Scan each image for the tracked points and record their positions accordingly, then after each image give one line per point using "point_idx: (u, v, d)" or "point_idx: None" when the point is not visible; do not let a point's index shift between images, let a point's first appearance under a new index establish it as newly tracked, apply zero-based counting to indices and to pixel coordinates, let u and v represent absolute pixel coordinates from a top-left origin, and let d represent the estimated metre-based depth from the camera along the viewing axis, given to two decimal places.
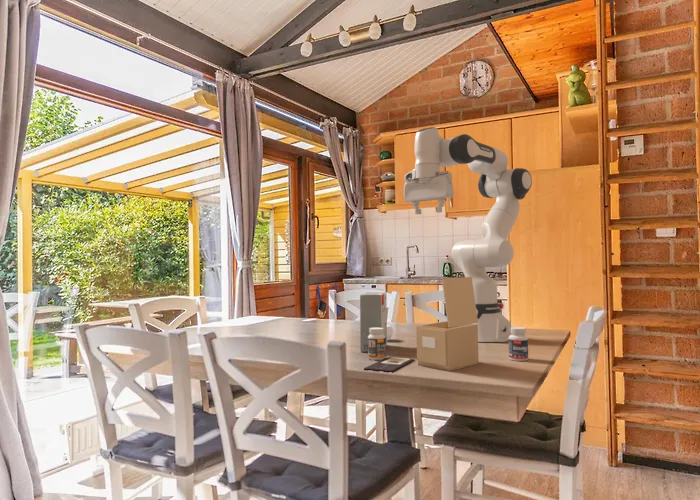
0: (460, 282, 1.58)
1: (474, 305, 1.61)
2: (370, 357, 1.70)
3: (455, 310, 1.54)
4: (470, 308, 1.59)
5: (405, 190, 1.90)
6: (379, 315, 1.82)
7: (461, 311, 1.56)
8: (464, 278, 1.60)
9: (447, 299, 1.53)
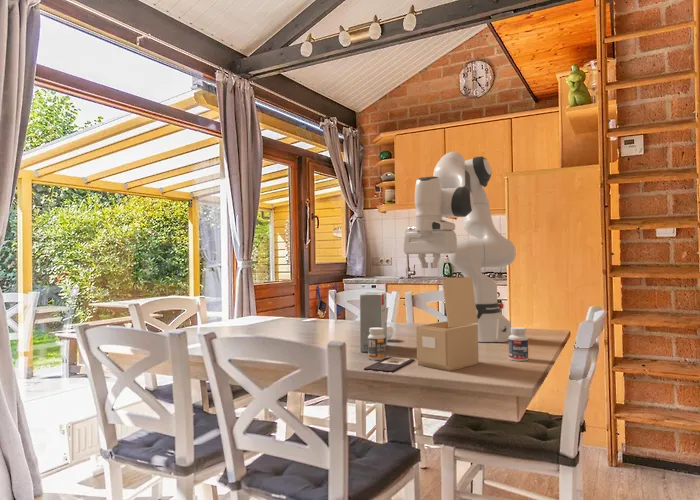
0: (460, 282, 1.58)
1: (474, 305, 1.61)
2: (370, 357, 1.70)
3: (455, 310, 1.54)
4: (470, 308, 1.59)
5: None
6: (379, 315, 1.82)
7: (461, 311, 1.56)
8: (464, 278, 1.60)
9: (447, 299, 1.53)
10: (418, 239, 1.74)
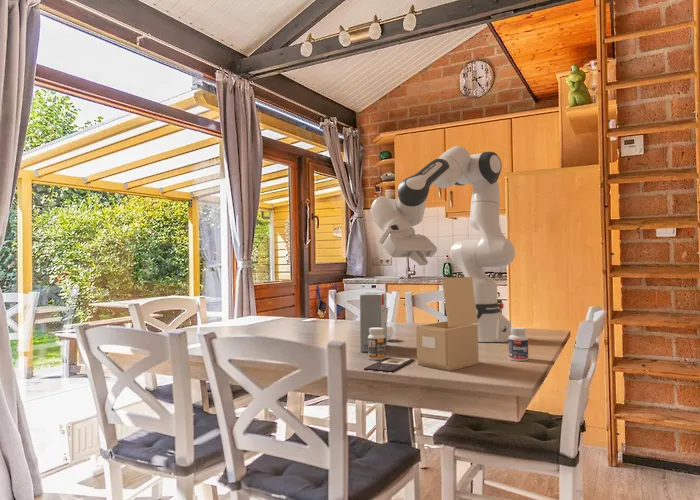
0: (460, 282, 1.58)
1: (474, 305, 1.61)
2: (370, 357, 1.70)
3: (455, 310, 1.54)
4: (470, 308, 1.59)
5: (394, 239, 1.66)
6: (379, 315, 1.82)
7: (461, 311, 1.56)
8: (464, 278, 1.60)
9: (447, 299, 1.53)
10: None
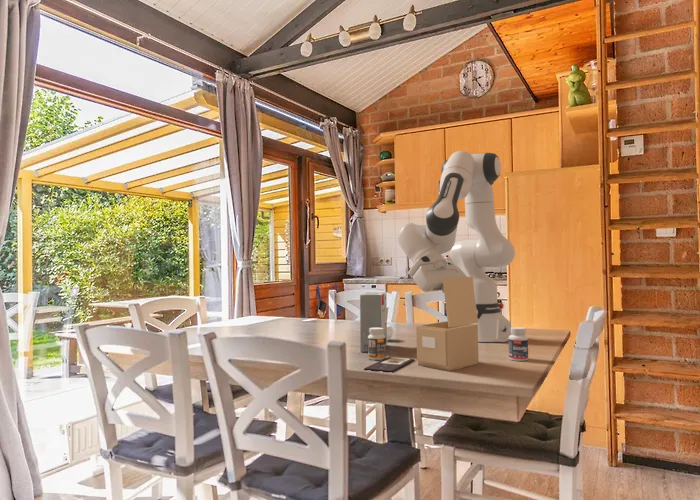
0: (461, 282, 1.58)
1: (474, 305, 1.60)
2: (370, 357, 1.70)
3: (455, 310, 1.54)
4: (470, 308, 1.59)
5: (425, 273, 1.55)
6: (379, 315, 1.82)
7: (461, 311, 1.56)
8: (465, 278, 1.59)
9: (447, 299, 1.53)
10: None
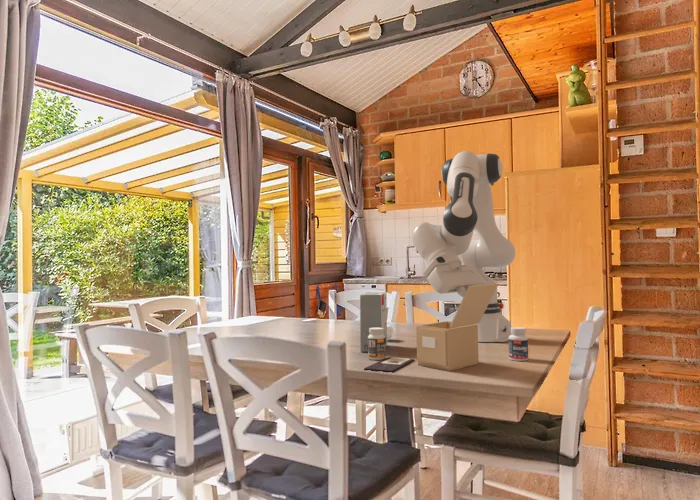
0: (484, 289, 1.52)
1: (484, 309, 1.58)
2: (370, 357, 1.70)
3: (464, 314, 1.52)
4: (479, 312, 1.57)
5: (440, 274, 1.50)
6: (379, 315, 1.82)
7: (469, 314, 1.54)
8: (490, 286, 1.53)
9: (462, 304, 1.49)
10: None
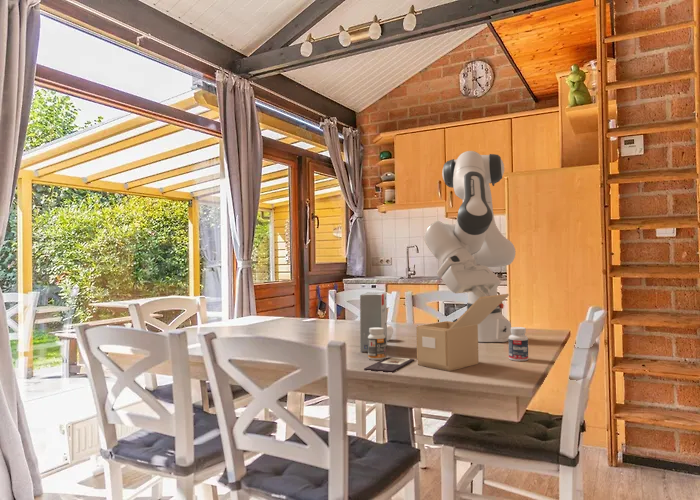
0: (494, 299, 1.49)
1: (488, 313, 1.57)
2: (370, 357, 1.70)
3: (467, 318, 1.51)
4: (482, 316, 1.56)
5: (455, 273, 1.47)
6: (379, 315, 1.82)
7: (472, 318, 1.53)
8: (500, 296, 1.50)
9: (468, 311, 1.47)
10: None
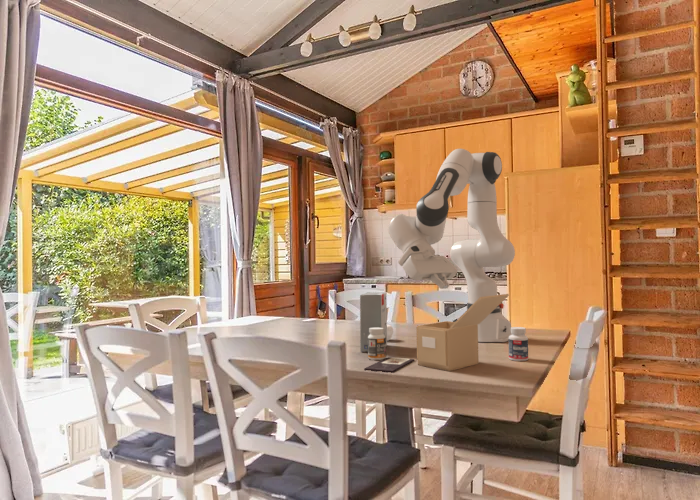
0: (494, 299, 1.49)
1: (488, 313, 1.57)
2: (370, 357, 1.70)
3: (467, 318, 1.51)
4: (482, 316, 1.56)
5: (415, 262, 1.59)
6: (379, 315, 1.82)
7: (472, 318, 1.53)
8: (501, 296, 1.50)
9: (468, 311, 1.47)
10: None
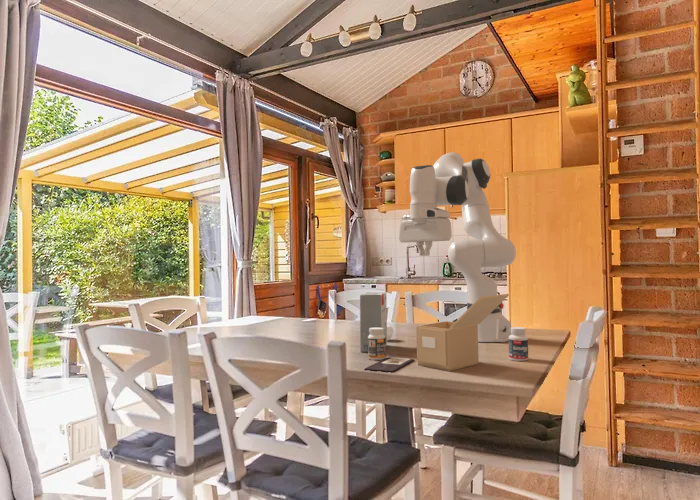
0: (494, 299, 1.49)
1: (488, 313, 1.57)
2: (370, 357, 1.70)
3: (467, 318, 1.51)
4: (482, 316, 1.56)
5: None
6: (379, 315, 1.82)
7: (472, 318, 1.53)
8: (501, 296, 1.50)
9: (468, 311, 1.47)
10: (413, 227, 1.75)
